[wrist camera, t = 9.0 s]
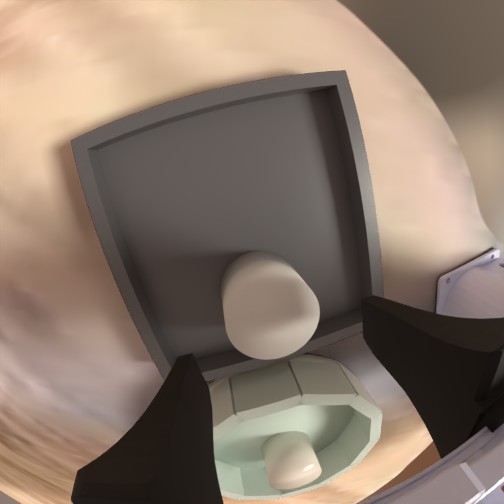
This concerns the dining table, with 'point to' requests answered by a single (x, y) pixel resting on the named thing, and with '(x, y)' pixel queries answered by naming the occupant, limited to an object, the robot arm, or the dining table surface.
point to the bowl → (290, 421)
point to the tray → (234, 209)
